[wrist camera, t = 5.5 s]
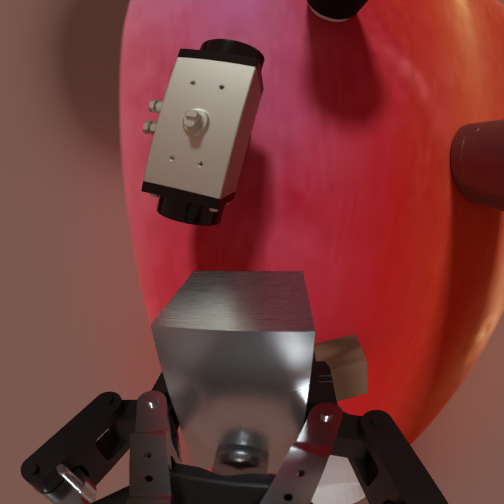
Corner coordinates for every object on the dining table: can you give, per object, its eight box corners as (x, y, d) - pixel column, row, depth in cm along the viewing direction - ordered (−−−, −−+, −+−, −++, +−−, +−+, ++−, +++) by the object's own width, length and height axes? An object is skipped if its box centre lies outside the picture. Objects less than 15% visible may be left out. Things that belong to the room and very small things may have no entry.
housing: (194, 270, 13) (137, 341, 7) (302, 271, 12) (319, 351, 7) (213, 403, 15) (191, 480, 10) (293, 406, 15) (294, 489, 9)
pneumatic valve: (269, 90, 22) (265, 29, 11) (237, 208, 25) (206, 240, 14) (212, 79, 22) (168, 21, 11) (181, 194, 25) (115, 215, 14)
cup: (282, 399, 32) (282, 487, 19) (360, 395, 31) (383, 476, 18) (277, 441, 35) (275, 514, 22) (343, 438, 34) (355, 507, 21)
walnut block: (354, 333, 28) (366, 360, 24) (357, 365, 30) (367, 392, 25) (312, 344, 29) (317, 373, 24) (318, 375, 30) (323, 404, 26)
